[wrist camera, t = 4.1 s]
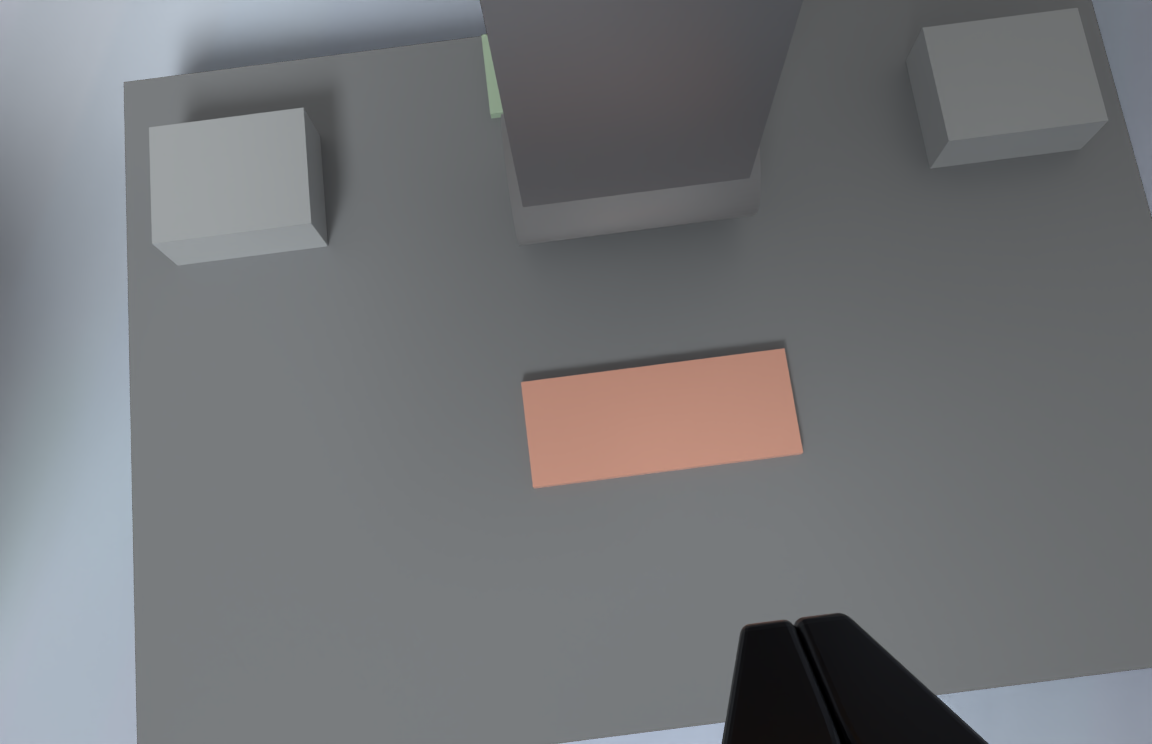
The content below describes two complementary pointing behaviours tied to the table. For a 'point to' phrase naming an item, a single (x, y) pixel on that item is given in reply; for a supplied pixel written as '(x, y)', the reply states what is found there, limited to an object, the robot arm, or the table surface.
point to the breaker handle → (634, 109)
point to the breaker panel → (633, 392)
